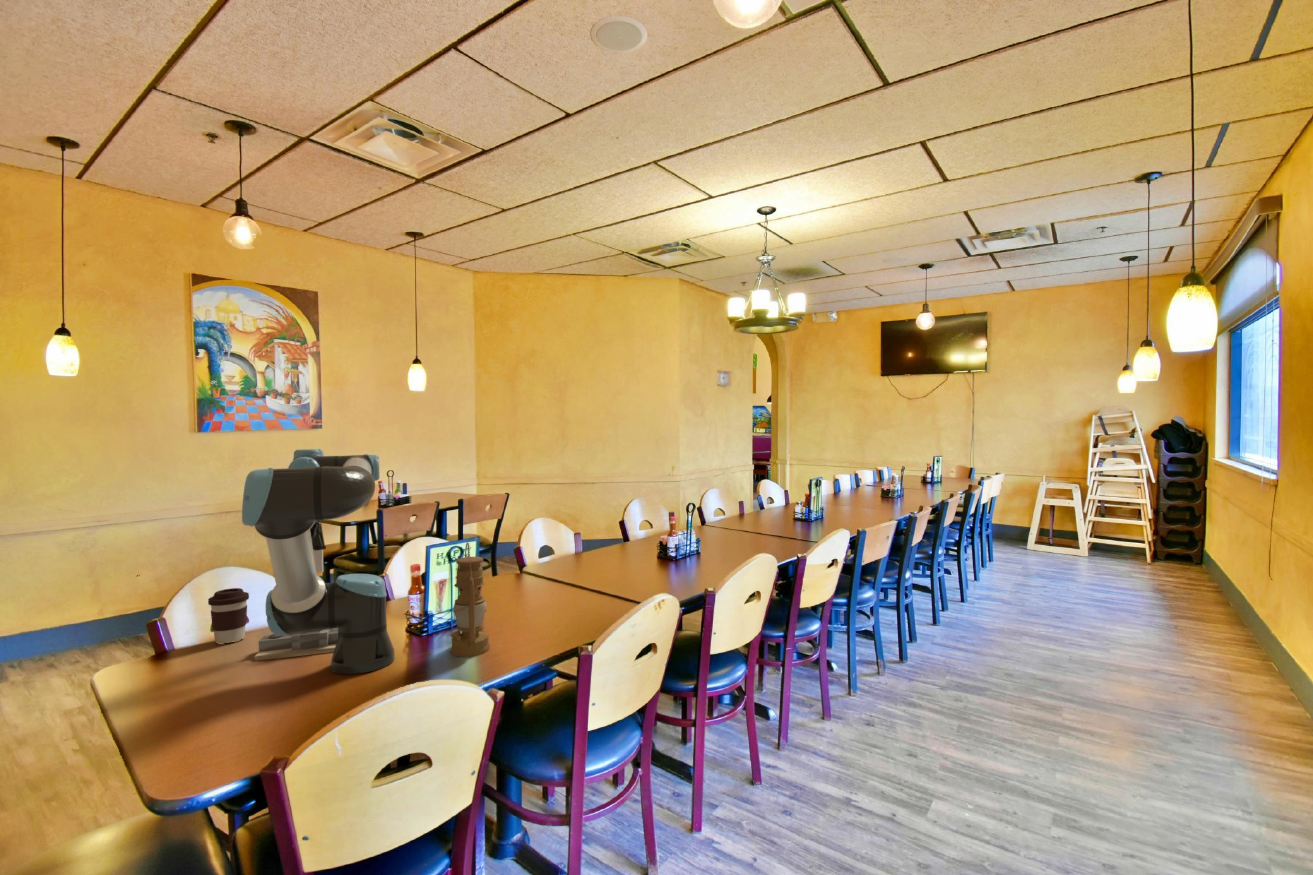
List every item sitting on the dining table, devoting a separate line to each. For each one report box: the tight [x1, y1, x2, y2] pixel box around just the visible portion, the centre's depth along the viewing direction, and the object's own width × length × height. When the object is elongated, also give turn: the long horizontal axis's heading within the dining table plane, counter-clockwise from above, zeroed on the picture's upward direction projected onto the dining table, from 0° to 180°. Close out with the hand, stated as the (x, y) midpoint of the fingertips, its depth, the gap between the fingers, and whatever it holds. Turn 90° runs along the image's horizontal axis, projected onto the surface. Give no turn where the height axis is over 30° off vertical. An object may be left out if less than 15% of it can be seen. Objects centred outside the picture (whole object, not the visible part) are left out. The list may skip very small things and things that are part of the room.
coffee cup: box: [207, 587, 250, 643], centre depth 181 cm, size 10×10×15 cm
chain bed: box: [254, 628, 338, 662], centre depth 173 cm, size 12×26×5 cm, turn 107°
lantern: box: [450, 542, 491, 658], centre depth 169 cm, size 15×10×30 cm
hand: (312, 577), depth 173 cm, fingers open, 13 cm apart
